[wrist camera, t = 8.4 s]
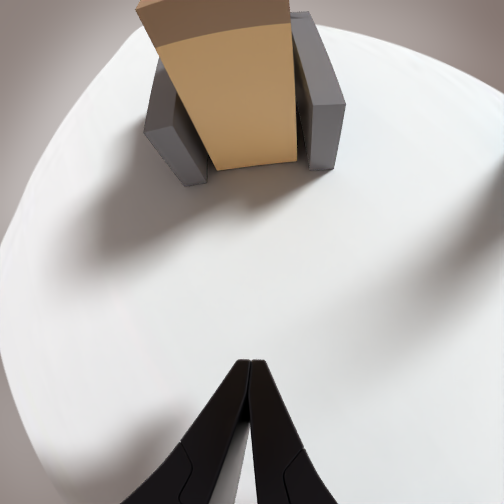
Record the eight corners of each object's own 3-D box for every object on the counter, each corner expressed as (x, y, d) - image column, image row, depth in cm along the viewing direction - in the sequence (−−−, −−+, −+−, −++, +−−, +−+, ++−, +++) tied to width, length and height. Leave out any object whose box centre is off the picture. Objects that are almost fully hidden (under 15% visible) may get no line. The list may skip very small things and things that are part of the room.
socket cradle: (333, 168, 17) (345, 104, 12) (184, 186, 18) (143, 132, 13) (309, 73, 20) (308, 11, 14) (190, 89, 21) (165, 34, 15)
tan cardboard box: (297, 161, 18) (286, -22, 6) (216, 170, 18) (135, 9, 7) (287, 102, 19) (269, -54, 7) (216, 112, 19) (159, -33, 8)
